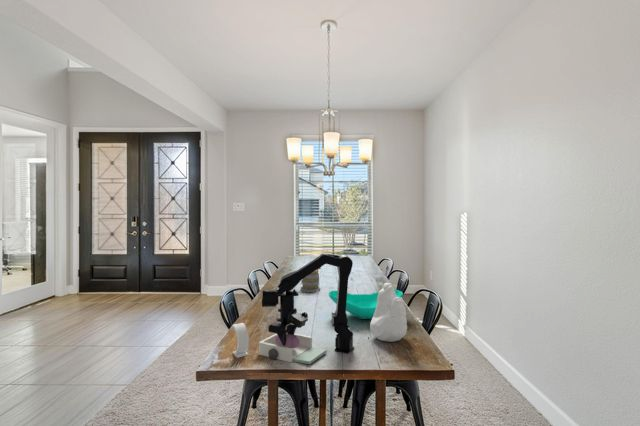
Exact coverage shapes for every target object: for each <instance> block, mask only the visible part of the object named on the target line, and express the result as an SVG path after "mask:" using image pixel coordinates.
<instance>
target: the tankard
mask: <svg viewBox="0 0 640 426" xmlns="http://www.w3.org/2000/svg"><path fill="white" fill-rule="evenodd" d="M321 268H322V267H320V268H318V269H317V270H315V271H314V272H312V273H311V274H309V275H308V276H306V277H305V278H303V279H302V280H301V285H302V286H300V291H301V292H302V293H303V292H304V293H317V292H319V291H321V288H320V287H319V285H320V273H319V270H321Z"/></svg>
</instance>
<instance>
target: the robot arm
mask: <svg viewBox="0 0 640 426" xmlns="http://www.w3.org/2000/svg"><path fill="white" fill-rule="evenodd" d="M353 264H354V263H353V260H352V258H350V257H349V256H348V255H347V254H341V255H338V254H337V255H336V254H331V253H327V252H322V253H321V254H320V255H319V256H317V257H316V258H314V259H312V260H311V261H310V262H308V263H307V264H305V265H304V266H302V267H300V268H299V269H297V270H295V271H291V272H289V273H287V274H284V275H282V276H281V278H280V281H279V284H278V286H276V288H275V290H271V289H269V290H267V289H263V290H262V297H261V307H262V308H273V307H275V308H276V307H277V306H278V305H280V306H279V307H280V308H278V310H277V311H278V312H279V313H280V314H279V315H280V316H279V319H278V321H279V322H276V321H275V322H273V323H271V324H269V325H268V327H267V329H268V330H267V332H268V333H273V334H276V333H277V335H278V337H279V339H280V341H281V343H282V345H284V346H285V344H286V334H291V335H294V333H295V332H296V330H297V328H298V329H301V328H302V327H305V326H306V324H307V323H306V322H308V320H309V316H308V313H307V312H306V311H303V312H302V313H301V312H297V311H298V310H297V308H296V307H295V297H298V296H299V292H298V291H297V290H296V286H297V285H299V284H300V283H301V282H302V279H303V278H305V277H306V276H308V275H309V274H311V273H312V272H314V271H315V270H317V269H318V268H320V267H321V268H322V267H323V266H324V265H329V266H332V267H336V270H337V274H338V280H337V291H338V292H337V304H336V308H335V310H334V312H331V320H330V324H331V326H332V327H333V329H334V331H335V333H337V334H336V335H335V336H336V337H335V340H334V341H335V342H334V343H335V348H334V349H333V350H334V351H335V352H336V351H337V352H340V353H345V354H349V353H350V352H351V351H353V350H354V349H355V346H354V342H353V341H354V332H353V331H352V329H351V327H350V326H349V325H348V318H347V311H346V302H347V293H348V287H349V286H348V285H349V278H350V275H351V273H352V268H353ZM318 270H319V269H318ZM295 334H296V333H295Z"/></svg>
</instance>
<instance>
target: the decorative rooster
mask: <svg viewBox="0 0 640 426" xmlns="http://www.w3.org/2000/svg"><path fill="white" fill-rule="evenodd" d="M394 290H395V288H394V286H393V285H392V283H390V282H385V283H384V284H383V285H382V288H381V289H380V290H378V292H379V293H378V298H377V306H376V310H375V312H374V316H373V318H372V319H370V320H371V321H370V323H369V324H370V325H369V329H370V330H369V331H370V333H371V334H372V335H373V337H375V338H377V339H378V340H380V341H382V342H390V343H394V342H398V341H400V340H401V339H403V338H404V337H405V336H406V334H407V330H408V325H407V323H408V318H407V308H406V307H405V302H404V299H403V297H402V298H400V297H397V296H396V293H395V291H394Z"/></svg>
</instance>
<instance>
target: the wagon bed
mask: <svg viewBox="0 0 640 426" xmlns="http://www.w3.org/2000/svg"><path fill="white" fill-rule="evenodd" d="M294 335H297V338H298V339H299V345H298V347H296V348H293V349H291V348H287V347H283V346H278V345H277V344H276V342H275V338H276V337H277V336H278V335H277V333H273V334H272V335H270V336H268V337H266V338H264V339H263V340H260V341H259V342H258V355H260V356H264V357H268V358H269V359H270V360H275V359H276V360H280V361H284V362H288V363H292V362H294V361H293V359H294V358H296V357H297V356H299V355H300V354H302V353H303V352H305V351H306V350H308V349H310V348H313V336H309V335H304V334H299V333H294Z"/></svg>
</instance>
